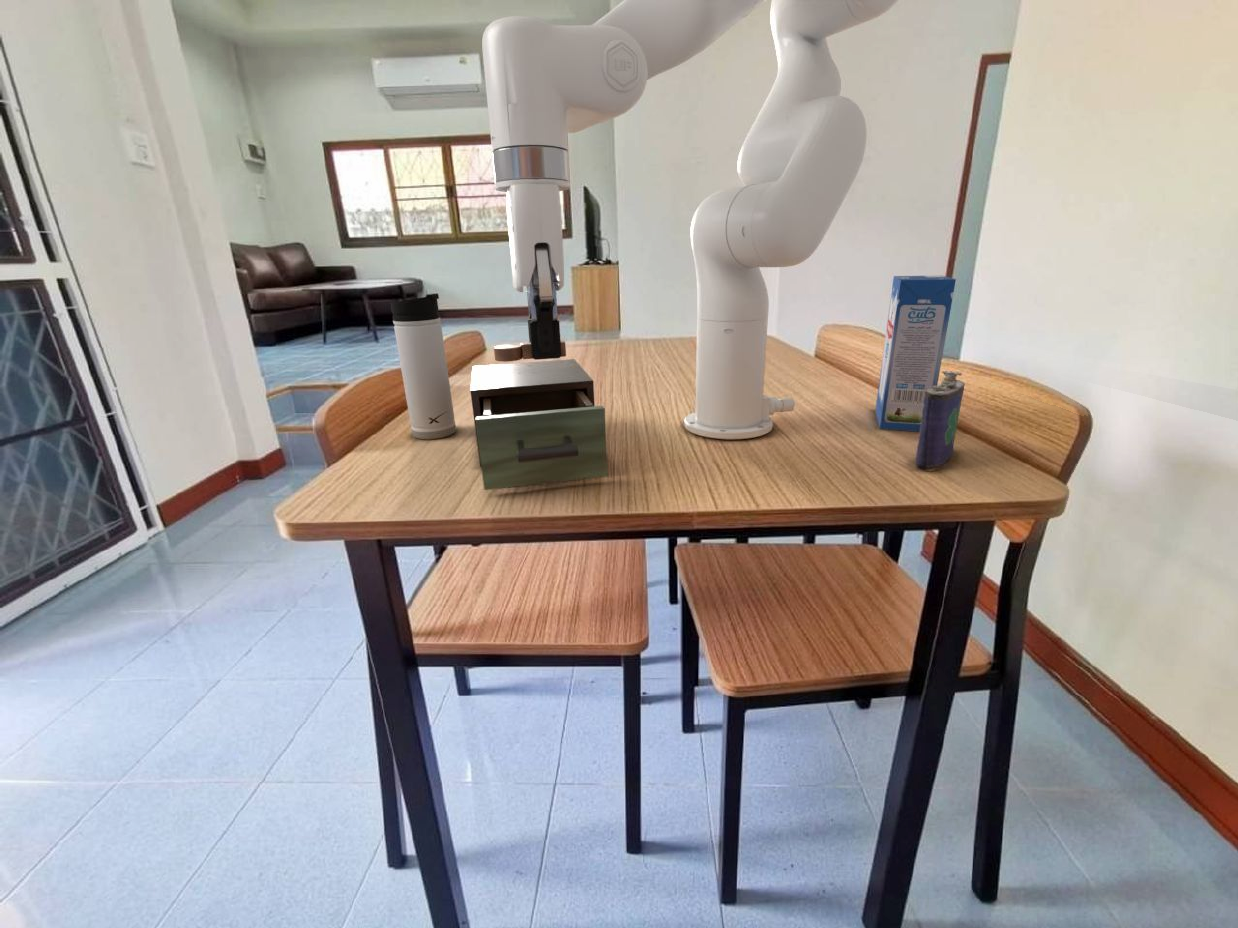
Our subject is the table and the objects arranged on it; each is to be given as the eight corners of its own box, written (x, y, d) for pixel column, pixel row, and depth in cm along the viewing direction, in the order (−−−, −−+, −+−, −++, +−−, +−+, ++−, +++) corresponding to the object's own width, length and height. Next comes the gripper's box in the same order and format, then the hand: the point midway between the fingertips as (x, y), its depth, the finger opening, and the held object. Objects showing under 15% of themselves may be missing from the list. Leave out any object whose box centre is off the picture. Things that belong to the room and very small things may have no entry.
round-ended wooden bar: (563, 353, 65) (562, 339, 64) (567, 357, 62) (566, 343, 61) (494, 357, 63) (493, 343, 62) (495, 362, 60) (493, 347, 60)
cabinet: (597, 455, 72) (593, 380, 69) (480, 467, 69) (470, 390, 66) (578, 422, 87) (574, 359, 83) (480, 431, 84) (472, 366, 80)
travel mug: (445, 440, 80) (424, 295, 73) (404, 439, 81) (379, 296, 74) (465, 427, 86) (447, 292, 79) (426, 426, 87) (404, 293, 80)
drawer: (617, 492, 58) (614, 420, 56) (484, 509, 56) (474, 433, 53) (585, 437, 76) (582, 380, 74) (484, 447, 74) (476, 389, 71)
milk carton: (875, 410, 88) (893, 276, 80) (919, 413, 86) (942, 275, 78) (879, 428, 79) (900, 279, 72) (929, 432, 77) (956, 279, 70)
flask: (932, 447, 71) (947, 363, 67) (958, 451, 69) (975, 365, 65) (909, 468, 65) (924, 376, 61) (937, 473, 63) (955, 380, 59)
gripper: (493, 183, 63) (509, 348, 69) (495, 161, 48) (515, 372, 55) (559, 183, 64) (569, 344, 71) (581, 161, 50) (590, 367, 56)
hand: (545, 355), depth 63 cm, fingers closed on round-ended wooden bar, 1 cm apart
